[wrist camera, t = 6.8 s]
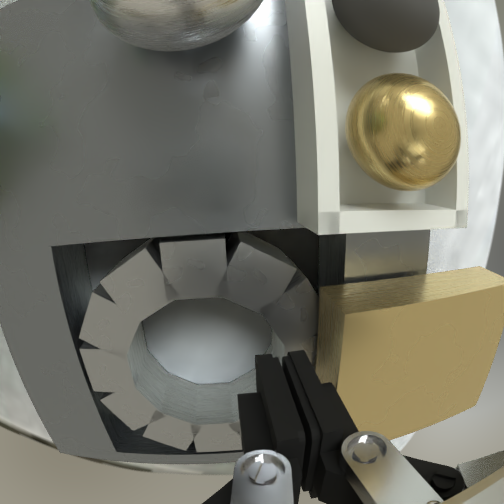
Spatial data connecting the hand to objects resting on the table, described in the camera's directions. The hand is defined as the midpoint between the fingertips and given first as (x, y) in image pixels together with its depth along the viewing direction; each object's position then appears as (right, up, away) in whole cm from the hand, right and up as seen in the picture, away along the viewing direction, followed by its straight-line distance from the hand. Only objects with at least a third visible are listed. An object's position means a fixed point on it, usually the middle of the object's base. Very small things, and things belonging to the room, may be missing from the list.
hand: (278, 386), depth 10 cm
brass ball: (+3, +8, -2) cm, 9 cm away
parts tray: (+3, +11, -1) cm, 11 cm away
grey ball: (+3, +12, -4) cm, 13 cm away
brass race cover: (+5, +1, +2) cm, 6 cm away
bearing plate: (-3, +6, +3) cm, 7 cm away
